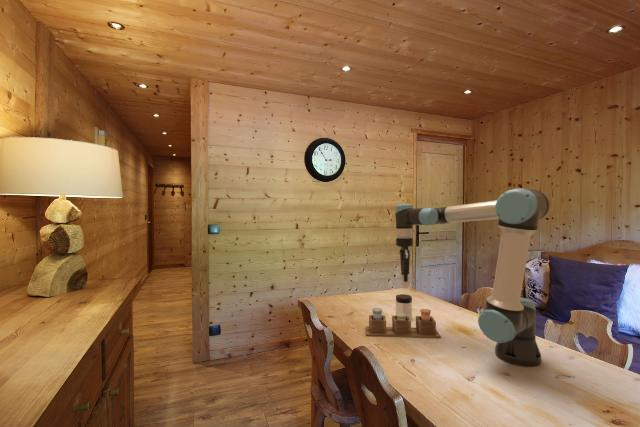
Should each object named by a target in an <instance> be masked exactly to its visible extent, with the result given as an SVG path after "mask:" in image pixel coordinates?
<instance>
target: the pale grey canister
mask: <svg viewBox="0 0 640 427" xmlns="http://www.w3.org/2000/svg"><path fill="white" fill-rule="evenodd" d="M371 309H372V310H371V311H372V315H373V320H382V314H383V309H382V308H380V307H374V308H371Z"/></svg>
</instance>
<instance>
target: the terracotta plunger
mask: <svg viewBox="0 0 640 427" xmlns="http://www.w3.org/2000/svg"><path fill="white" fill-rule="evenodd" d="M419 312H420V316H421V321H430V316H431V312H432V310H431V309H430V308H429V309H428V308H421V309H420V310H419Z"/></svg>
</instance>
